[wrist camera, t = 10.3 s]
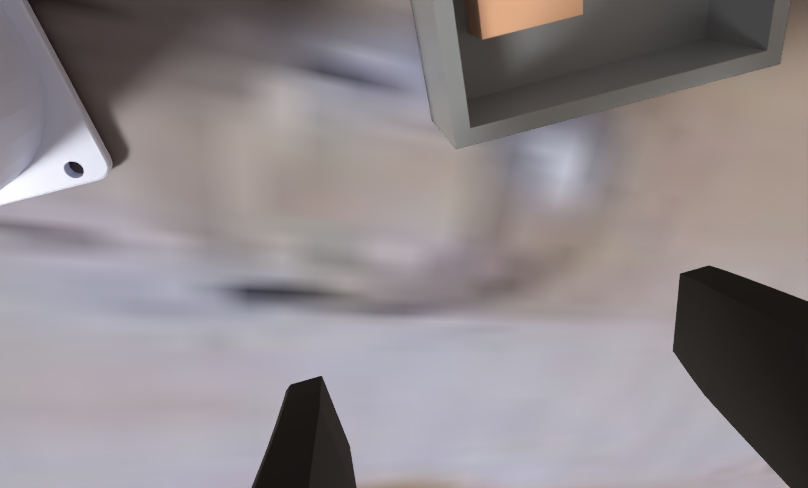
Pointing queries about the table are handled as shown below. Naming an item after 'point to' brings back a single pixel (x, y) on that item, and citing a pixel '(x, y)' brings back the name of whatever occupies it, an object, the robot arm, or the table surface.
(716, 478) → the table surface
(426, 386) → the table surface
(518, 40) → the storage box
